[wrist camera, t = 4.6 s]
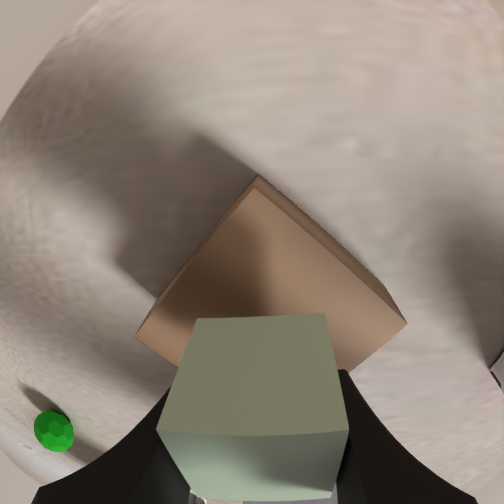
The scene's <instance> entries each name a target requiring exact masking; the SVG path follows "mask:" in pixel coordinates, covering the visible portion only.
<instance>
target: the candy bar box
mask: <svg viewBox="0 0 504 504" xmlns="http://www.w3.org/2000/svg"><path fill="white" fill-rule="evenodd" d="M489 371H490V373H491V374H492V376H493V377H494V379H495V380H496V382H497V383H498V385H499V386H500V388H501V390H502V391H503V393H504V349H503V351H502V352H501V354H500V355H499V357H498V358H497V360H496V361H495V362H494V364H493V365H492V367H491V368H490V370H489Z"/></svg>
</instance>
